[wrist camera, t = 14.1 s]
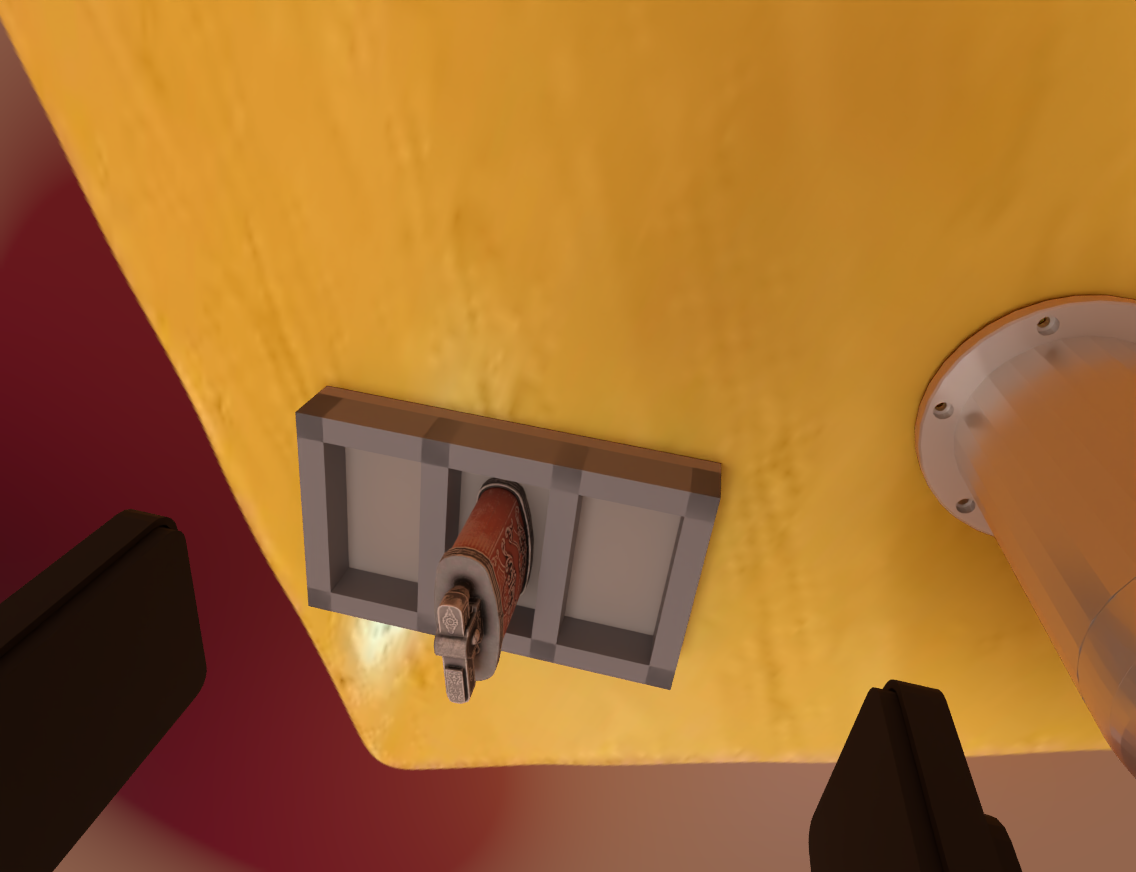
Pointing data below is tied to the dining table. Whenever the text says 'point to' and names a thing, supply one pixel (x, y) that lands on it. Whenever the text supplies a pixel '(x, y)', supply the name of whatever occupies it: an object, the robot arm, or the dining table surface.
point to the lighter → (482, 585)
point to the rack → (559, 516)
